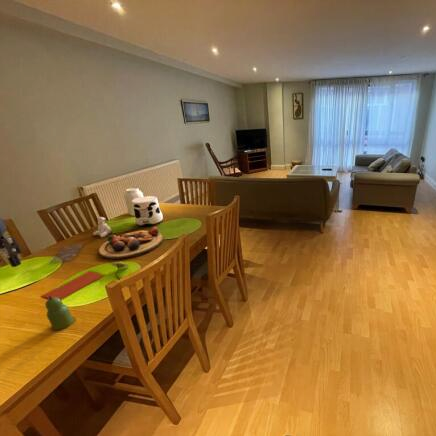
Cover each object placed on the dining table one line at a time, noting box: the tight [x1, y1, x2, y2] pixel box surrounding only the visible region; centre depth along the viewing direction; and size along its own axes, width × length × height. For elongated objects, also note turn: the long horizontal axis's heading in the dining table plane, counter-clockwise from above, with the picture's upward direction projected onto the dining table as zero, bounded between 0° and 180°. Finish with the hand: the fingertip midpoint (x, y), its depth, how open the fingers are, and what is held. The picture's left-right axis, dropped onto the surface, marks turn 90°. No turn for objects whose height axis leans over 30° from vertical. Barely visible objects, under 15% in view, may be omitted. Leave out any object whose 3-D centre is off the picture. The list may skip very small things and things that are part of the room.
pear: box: [44, 296, 74, 331], centre depth 85 cm, size 6×6×13 cm
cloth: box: [42, 270, 105, 300], centre depth 108 cm, size 19×10×1 cm, turn 160°
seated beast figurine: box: [92, 216, 112, 239], centre depth 154 cm, size 10×9×12 cm
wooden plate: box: [98, 226, 163, 260], centre depth 141 cm, size 32×32×8 cm
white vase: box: [123, 187, 144, 217], centre depth 187 cm, size 12×12×20 cm
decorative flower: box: [110, 261, 130, 280], centre depth 115 cm, size 8×6×15 cm
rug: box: [49, 243, 84, 265], centre depth 134 cm, size 10×20×1 cm, turn 26°
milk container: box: [132, 195, 164, 227], centre depth 170 cm, size 17×17×18 cm
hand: (6, 264), depth 81 cm, fingers open, 8 cm apart
